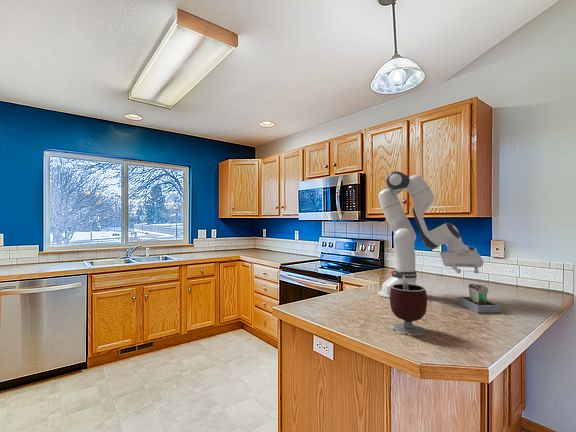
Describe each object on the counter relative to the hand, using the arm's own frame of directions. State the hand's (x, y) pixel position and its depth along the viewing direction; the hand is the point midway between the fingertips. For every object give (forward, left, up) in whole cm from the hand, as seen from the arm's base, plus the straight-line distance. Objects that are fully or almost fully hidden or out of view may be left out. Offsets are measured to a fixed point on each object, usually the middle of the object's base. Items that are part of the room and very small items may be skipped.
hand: (467, 272), depth 160 cm
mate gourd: (-45, -36, -16) cm, 60 cm away
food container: (+2, -8, -16) cm, 18 cm away
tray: (0, -8, -16) cm, 18 cm away
